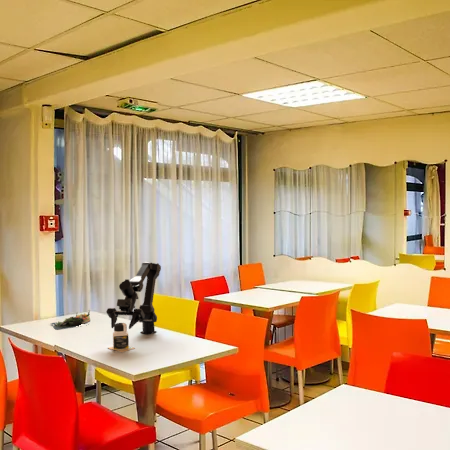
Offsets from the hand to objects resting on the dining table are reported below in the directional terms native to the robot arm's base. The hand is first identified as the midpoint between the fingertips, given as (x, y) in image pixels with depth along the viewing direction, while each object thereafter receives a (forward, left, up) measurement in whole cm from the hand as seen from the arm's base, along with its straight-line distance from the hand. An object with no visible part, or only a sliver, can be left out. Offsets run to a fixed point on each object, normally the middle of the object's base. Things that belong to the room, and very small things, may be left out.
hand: (120, 328), depth 254 cm
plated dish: (-72, +19, -11) cm, 75 cm away
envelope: (0, 0, -10) cm, 10 cm away
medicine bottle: (0, 0, -10) cm, 10 cm away
